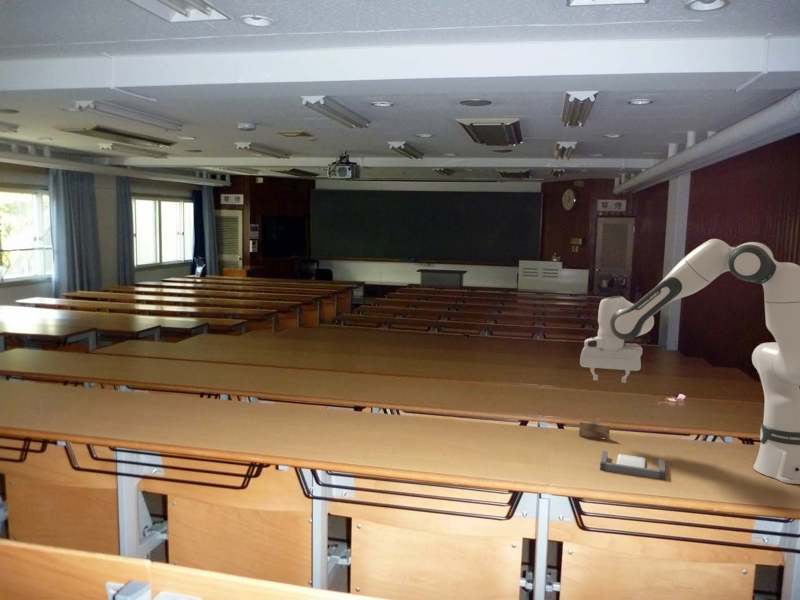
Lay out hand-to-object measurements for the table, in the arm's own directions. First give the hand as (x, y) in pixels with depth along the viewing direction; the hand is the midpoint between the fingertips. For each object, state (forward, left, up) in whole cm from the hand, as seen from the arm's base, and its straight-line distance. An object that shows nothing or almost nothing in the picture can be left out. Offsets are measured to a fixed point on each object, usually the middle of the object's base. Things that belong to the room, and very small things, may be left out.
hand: (609, 381), depth 216 cm
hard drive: (-9, +27, -21) cm, 35 cm away
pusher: (+4, 0, -20) cm, 21 cm away
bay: (-9, +29, -20) cm, 36 cm away
